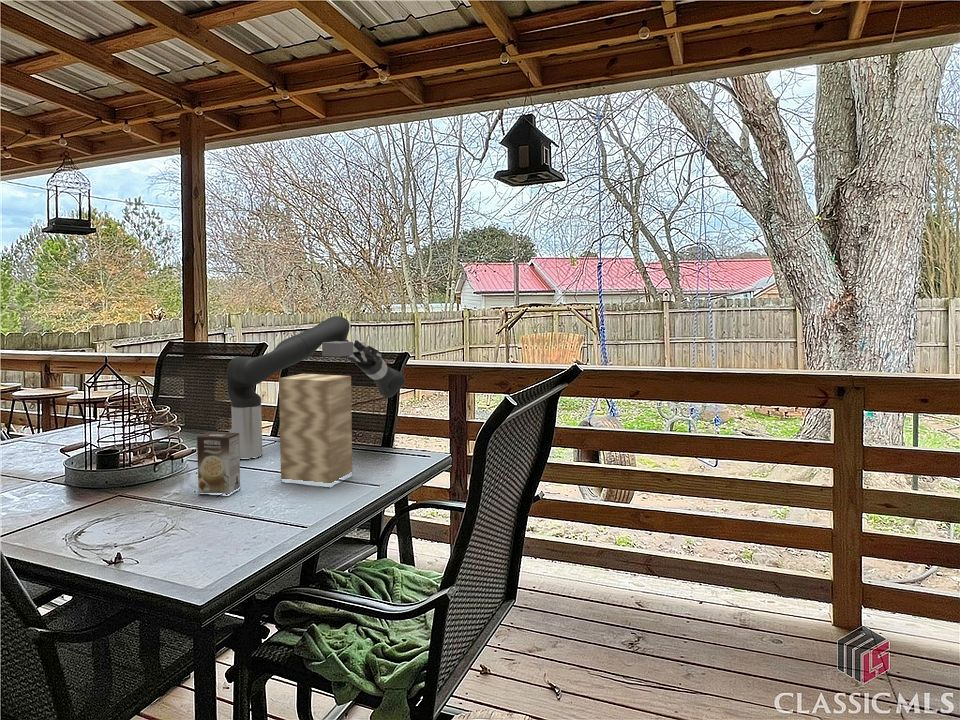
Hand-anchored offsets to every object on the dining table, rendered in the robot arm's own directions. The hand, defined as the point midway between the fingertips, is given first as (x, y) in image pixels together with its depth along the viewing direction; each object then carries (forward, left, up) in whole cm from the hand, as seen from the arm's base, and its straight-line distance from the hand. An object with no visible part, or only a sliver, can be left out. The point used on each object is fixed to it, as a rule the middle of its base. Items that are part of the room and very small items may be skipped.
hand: (350, 342), depth 193 cm
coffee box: (-17, -40, -39) cm, 58 cm away
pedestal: (+1, -21, -39) cm, 44 cm away
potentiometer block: (0, -2, -3) cm, 4 cm away
